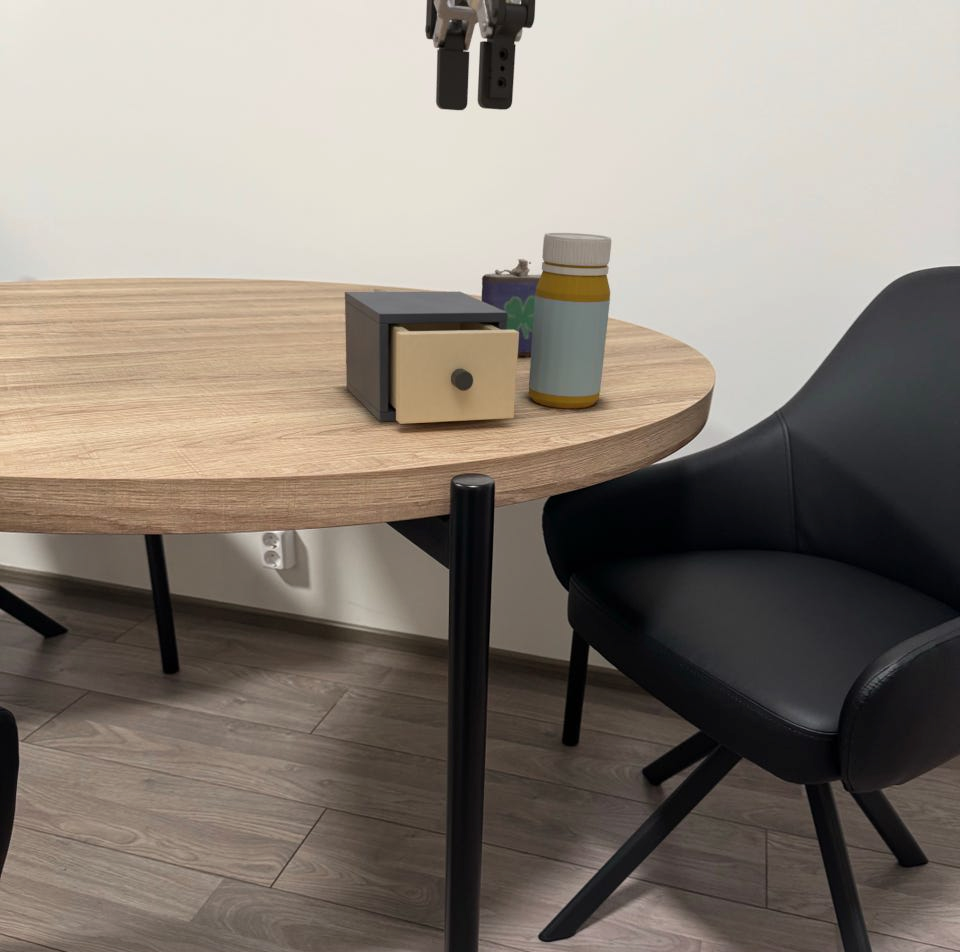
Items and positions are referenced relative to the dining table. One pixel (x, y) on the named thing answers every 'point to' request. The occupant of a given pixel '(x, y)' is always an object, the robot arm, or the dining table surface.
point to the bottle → (570, 320)
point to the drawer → (451, 371)
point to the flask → (514, 300)
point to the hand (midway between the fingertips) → (471, 109)
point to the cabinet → (370, 334)
